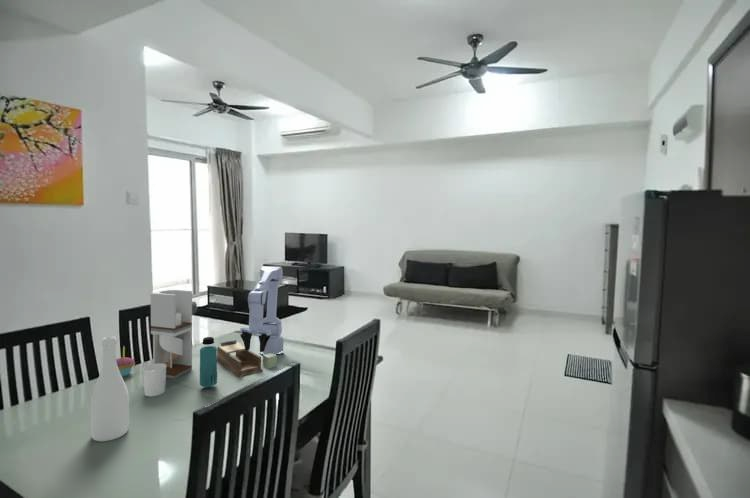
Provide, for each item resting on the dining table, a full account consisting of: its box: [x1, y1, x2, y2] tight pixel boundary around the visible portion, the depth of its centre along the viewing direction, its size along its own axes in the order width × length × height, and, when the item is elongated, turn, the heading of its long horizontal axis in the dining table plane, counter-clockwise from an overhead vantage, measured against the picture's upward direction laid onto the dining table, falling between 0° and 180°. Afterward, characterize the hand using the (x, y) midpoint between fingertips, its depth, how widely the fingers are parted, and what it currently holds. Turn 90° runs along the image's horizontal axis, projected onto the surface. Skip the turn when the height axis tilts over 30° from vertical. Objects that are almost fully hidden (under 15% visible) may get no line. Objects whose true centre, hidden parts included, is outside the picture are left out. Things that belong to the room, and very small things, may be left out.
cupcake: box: [116, 346, 136, 377], centre depth 164 cm, size 9×8×12 cm
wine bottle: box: [90, 335, 130, 442], centre depth 118 cm, size 10×10×30 cm
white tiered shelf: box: [150, 288, 193, 380], centre depth 167 cm, size 11×11×35 cm
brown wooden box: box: [216, 347, 264, 378], centre depth 178 cm, size 11×24×6 cm, turn 44°
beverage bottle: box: [199, 336, 218, 388], centre depth 153 cm, size 6×7×20 cm
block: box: [262, 353, 278, 369], centre depth 179 cm, size 4×4×5 cm
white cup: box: [142, 363, 167, 397], centre depth 148 cm, size 8×8×10 cm
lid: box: [217, 339, 245, 354], centre depth 181 cm, size 10×11×2 cm
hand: (254, 350), depth 168 cm, fingers open, 7 cm apart
